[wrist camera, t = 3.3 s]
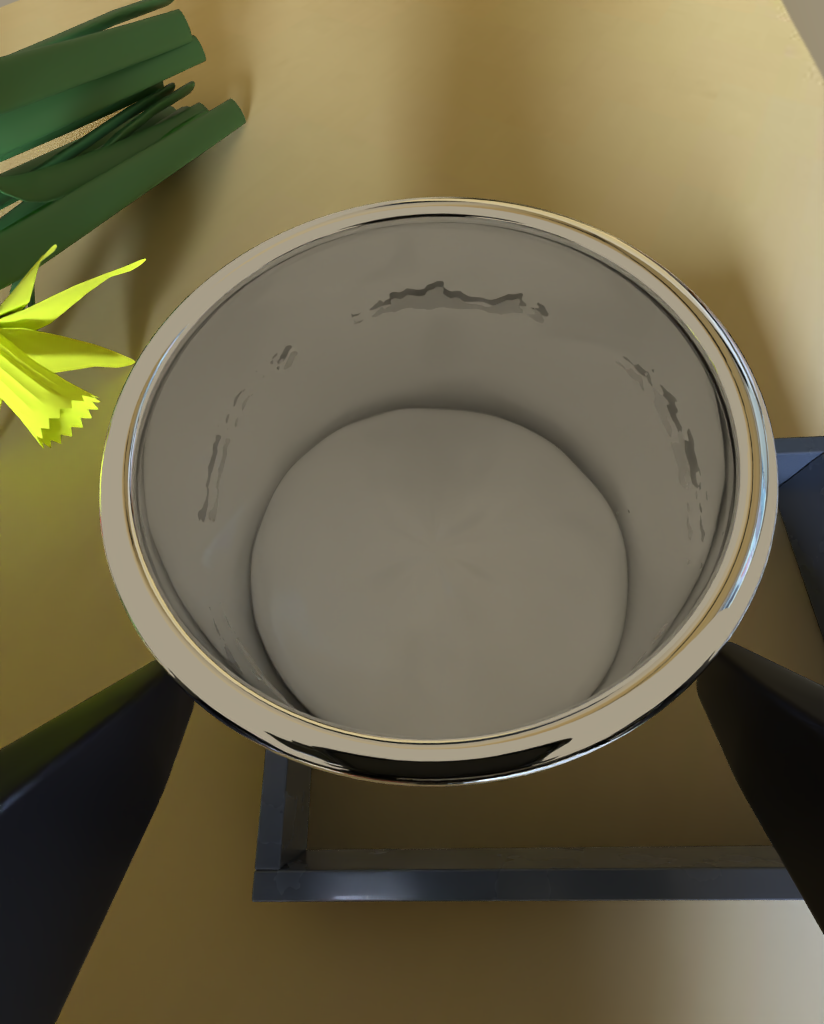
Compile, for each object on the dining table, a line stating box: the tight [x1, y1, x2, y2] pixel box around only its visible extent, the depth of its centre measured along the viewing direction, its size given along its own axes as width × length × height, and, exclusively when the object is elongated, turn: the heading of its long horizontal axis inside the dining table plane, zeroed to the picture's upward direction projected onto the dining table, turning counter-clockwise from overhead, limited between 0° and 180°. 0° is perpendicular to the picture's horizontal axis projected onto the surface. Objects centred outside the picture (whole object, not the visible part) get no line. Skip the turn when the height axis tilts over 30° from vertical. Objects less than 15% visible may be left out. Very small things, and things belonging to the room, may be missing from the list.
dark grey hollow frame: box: [252, 436, 824, 902], centre depth 17 cm, size 13×19×3 cm
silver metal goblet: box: [99, 197, 779, 787], centre depth 12 cm, size 7×7×15 cm
